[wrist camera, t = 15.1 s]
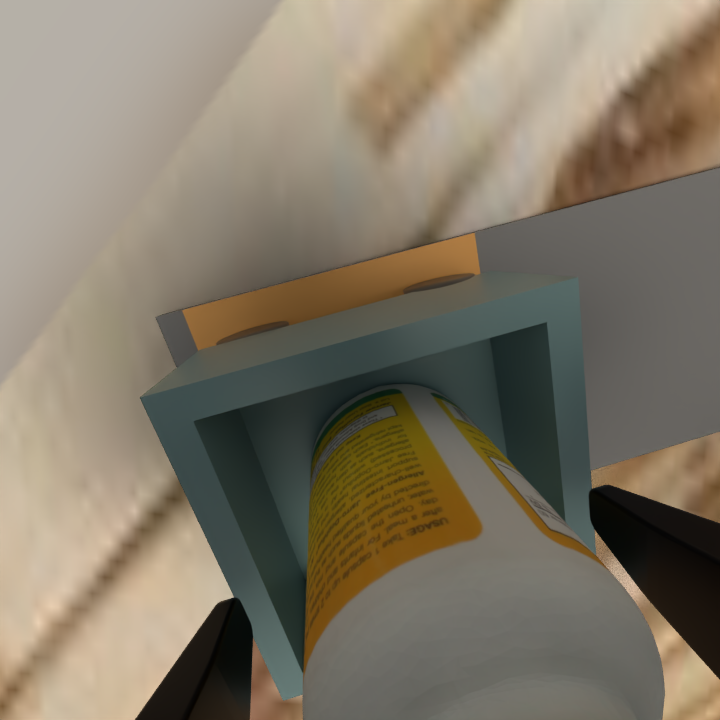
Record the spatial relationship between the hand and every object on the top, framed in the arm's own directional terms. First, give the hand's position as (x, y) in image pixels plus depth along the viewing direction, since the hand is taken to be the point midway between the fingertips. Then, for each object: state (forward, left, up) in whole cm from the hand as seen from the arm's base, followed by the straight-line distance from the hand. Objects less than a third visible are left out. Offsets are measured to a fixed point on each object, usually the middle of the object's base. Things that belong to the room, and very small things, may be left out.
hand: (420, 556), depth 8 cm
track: (-5, 0, -8) cm, 10 cm away
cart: (0, 0, -8) cm, 8 cm away
